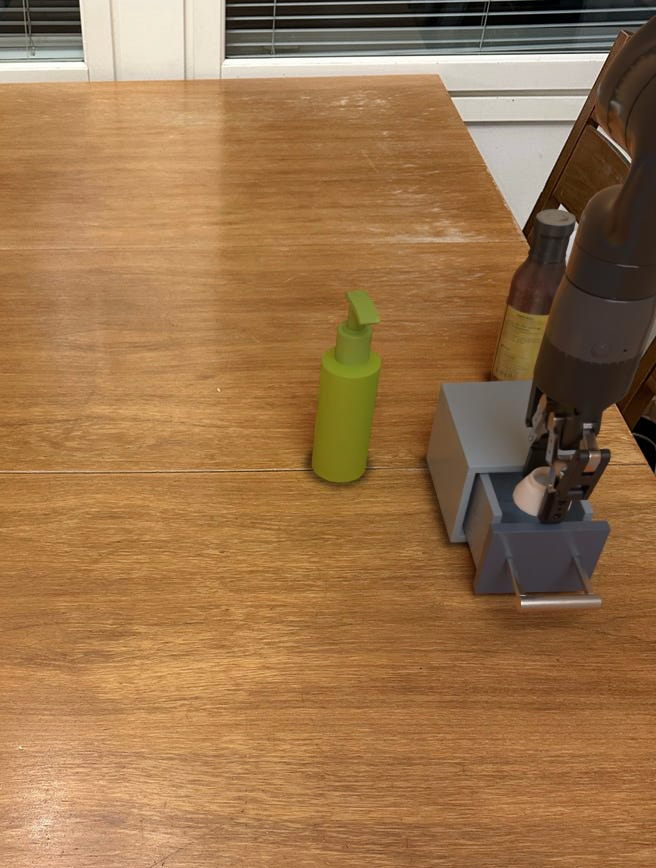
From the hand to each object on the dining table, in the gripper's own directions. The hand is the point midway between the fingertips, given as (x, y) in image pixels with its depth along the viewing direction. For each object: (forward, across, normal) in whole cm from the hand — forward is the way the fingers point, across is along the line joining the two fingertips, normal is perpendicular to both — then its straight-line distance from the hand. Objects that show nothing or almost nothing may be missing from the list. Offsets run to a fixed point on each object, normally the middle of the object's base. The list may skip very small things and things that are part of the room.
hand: (541, 499), depth 89 cm
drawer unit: (+9, +11, 0) cm, 14 cm away
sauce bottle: (+9, +31, -7) cm, 33 cm away
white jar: (+1, 0, 0) cm, 1 cm away
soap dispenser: (+9, +16, +15) cm, 24 cm away
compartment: (+8, -1, 0) cm, 8 cm away
